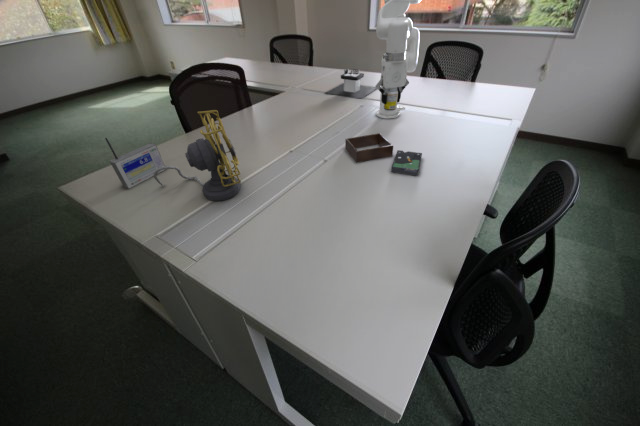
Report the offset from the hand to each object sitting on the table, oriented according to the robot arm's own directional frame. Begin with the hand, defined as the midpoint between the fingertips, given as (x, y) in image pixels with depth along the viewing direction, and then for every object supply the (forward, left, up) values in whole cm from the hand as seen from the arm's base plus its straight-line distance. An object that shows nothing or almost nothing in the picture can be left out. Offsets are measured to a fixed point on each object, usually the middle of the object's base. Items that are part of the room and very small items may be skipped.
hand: (390, 101), depth 129 cm
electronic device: (+109, -3, -18) cm, 110 cm away
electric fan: (+85, +19, -18) cm, 89 cm away
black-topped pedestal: (-12, -79, -18) cm, 82 cm away
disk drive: (+4, +26, -18) cm, 31 cm away
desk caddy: (+14, +10, -17) cm, 24 cm away
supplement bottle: (0, 0, -4) cm, 4 cm away
